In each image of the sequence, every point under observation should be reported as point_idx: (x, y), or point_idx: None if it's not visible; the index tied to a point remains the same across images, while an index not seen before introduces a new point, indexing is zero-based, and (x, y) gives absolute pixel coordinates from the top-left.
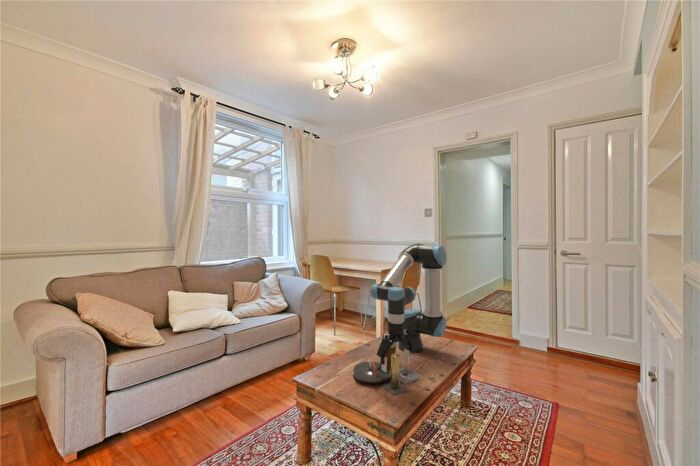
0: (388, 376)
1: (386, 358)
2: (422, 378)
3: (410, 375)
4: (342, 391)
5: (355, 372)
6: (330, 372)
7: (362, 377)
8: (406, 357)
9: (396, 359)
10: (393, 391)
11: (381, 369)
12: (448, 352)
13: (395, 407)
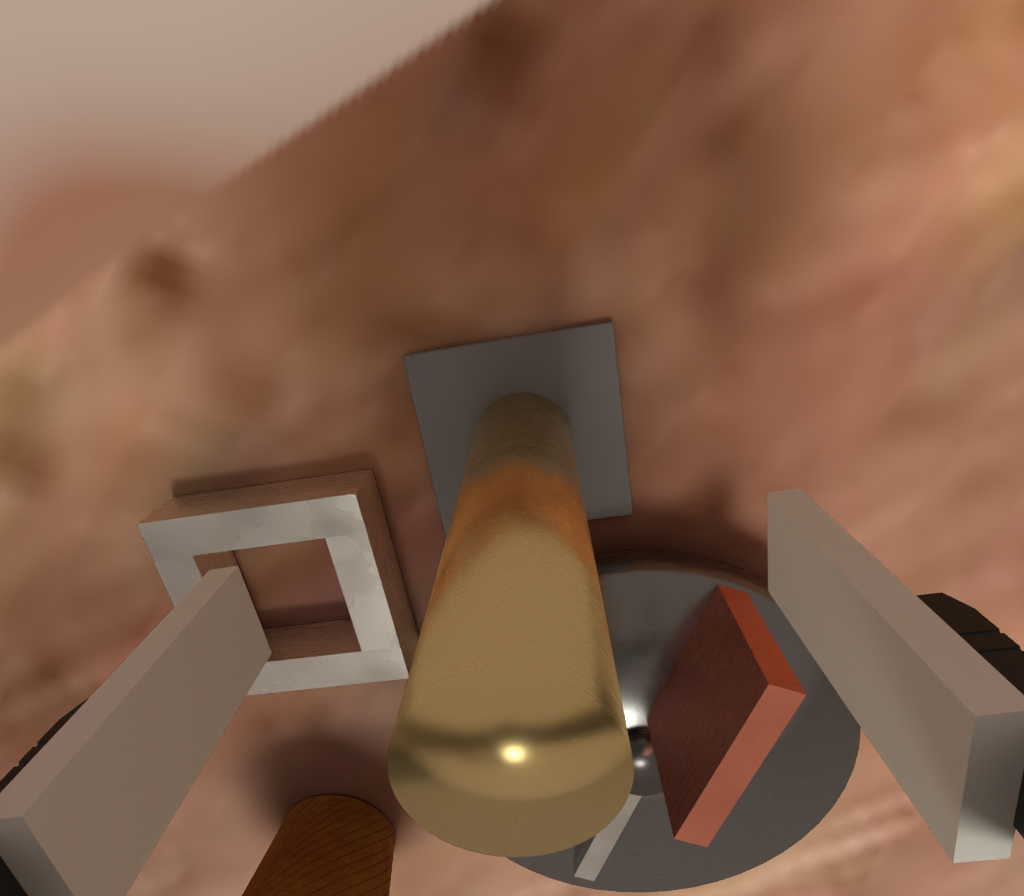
0: None
1: (963, 689)
2: (122, 493)
3: (249, 535)
4: None
5: (845, 769)
6: (935, 864)
7: None
8: (188, 690)
9: (542, 630)
10: (586, 372)
11: None
12: None
13: (754, 67)
